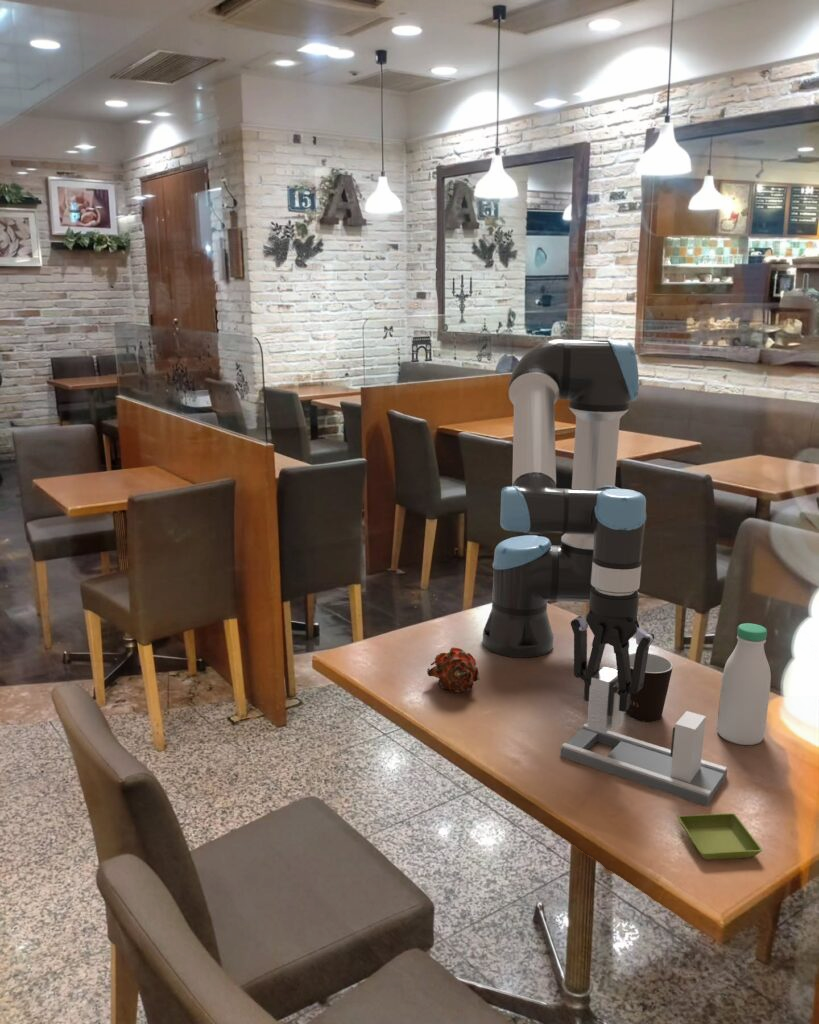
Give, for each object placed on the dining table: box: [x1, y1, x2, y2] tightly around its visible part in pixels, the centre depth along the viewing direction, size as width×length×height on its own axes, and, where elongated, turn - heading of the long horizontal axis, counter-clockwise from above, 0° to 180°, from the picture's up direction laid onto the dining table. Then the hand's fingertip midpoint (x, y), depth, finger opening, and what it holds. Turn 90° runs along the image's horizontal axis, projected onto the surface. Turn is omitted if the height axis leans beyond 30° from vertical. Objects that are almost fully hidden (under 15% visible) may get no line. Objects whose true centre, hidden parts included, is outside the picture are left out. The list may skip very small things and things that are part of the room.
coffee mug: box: [624, 652, 674, 723], centre depth 159 cm, size 12×9×10 cm
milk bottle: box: [716, 622, 772, 746], centre depth 149 cm, size 8×8×20 cm
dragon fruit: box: [426, 646, 480, 693], centre depth 167 cm, size 8×8×12 cm
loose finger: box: [587, 666, 619, 734], centre depth 142 cm, size 5×4×9 cm
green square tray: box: [677, 812, 763, 861], centre depth 122 cm, size 9×9×2 cm
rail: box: [559, 710, 728, 807], centre depth 140 cm, size 10×24×10 cm, turn 55°
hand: (604, 723), depth 143 cm, fingers closed on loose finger, 3 cm apart
